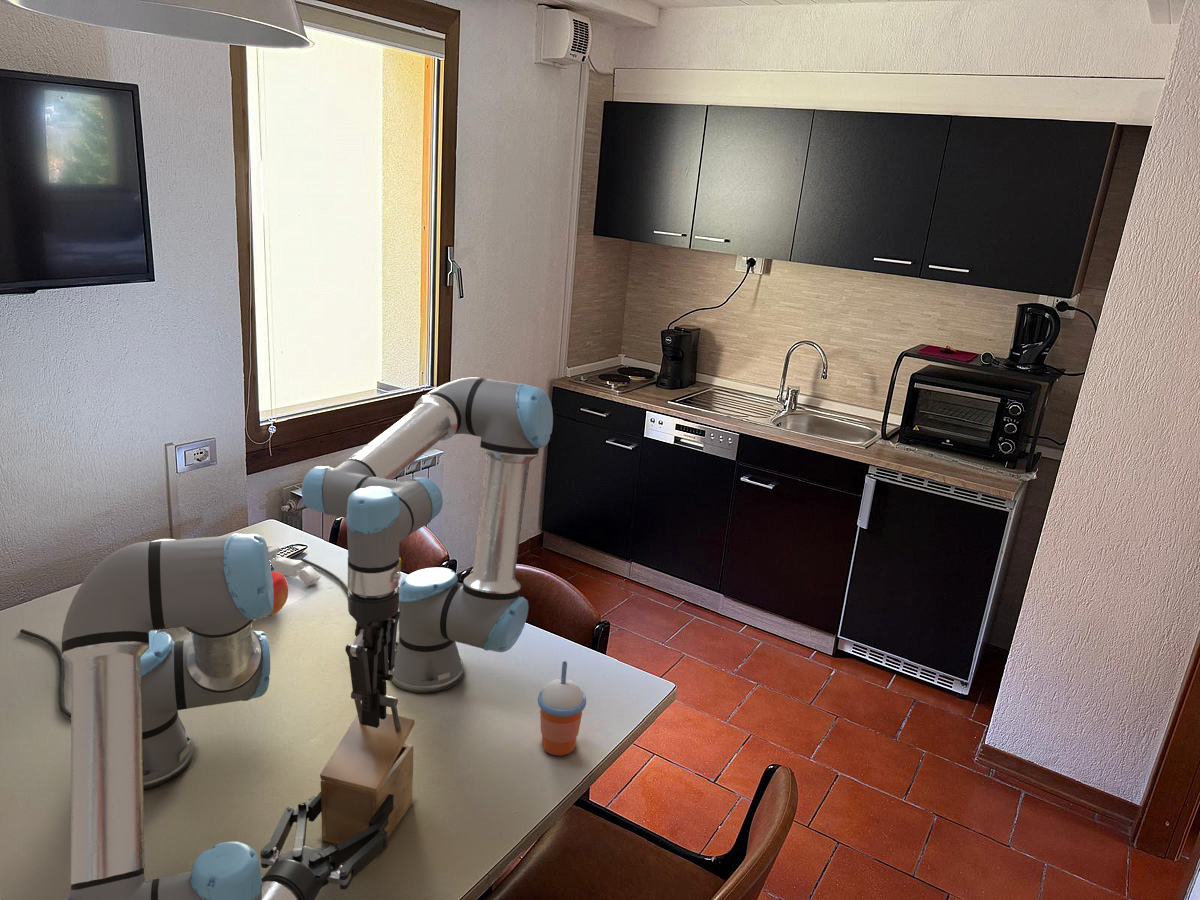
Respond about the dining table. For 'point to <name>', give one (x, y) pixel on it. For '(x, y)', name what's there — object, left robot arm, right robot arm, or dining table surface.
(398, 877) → the dining table surface
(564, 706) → the cup with straw
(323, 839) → the chest
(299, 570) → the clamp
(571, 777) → the dining table surface
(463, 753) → the dining table surface
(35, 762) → the dining table surface
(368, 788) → the lid
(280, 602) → the apple
